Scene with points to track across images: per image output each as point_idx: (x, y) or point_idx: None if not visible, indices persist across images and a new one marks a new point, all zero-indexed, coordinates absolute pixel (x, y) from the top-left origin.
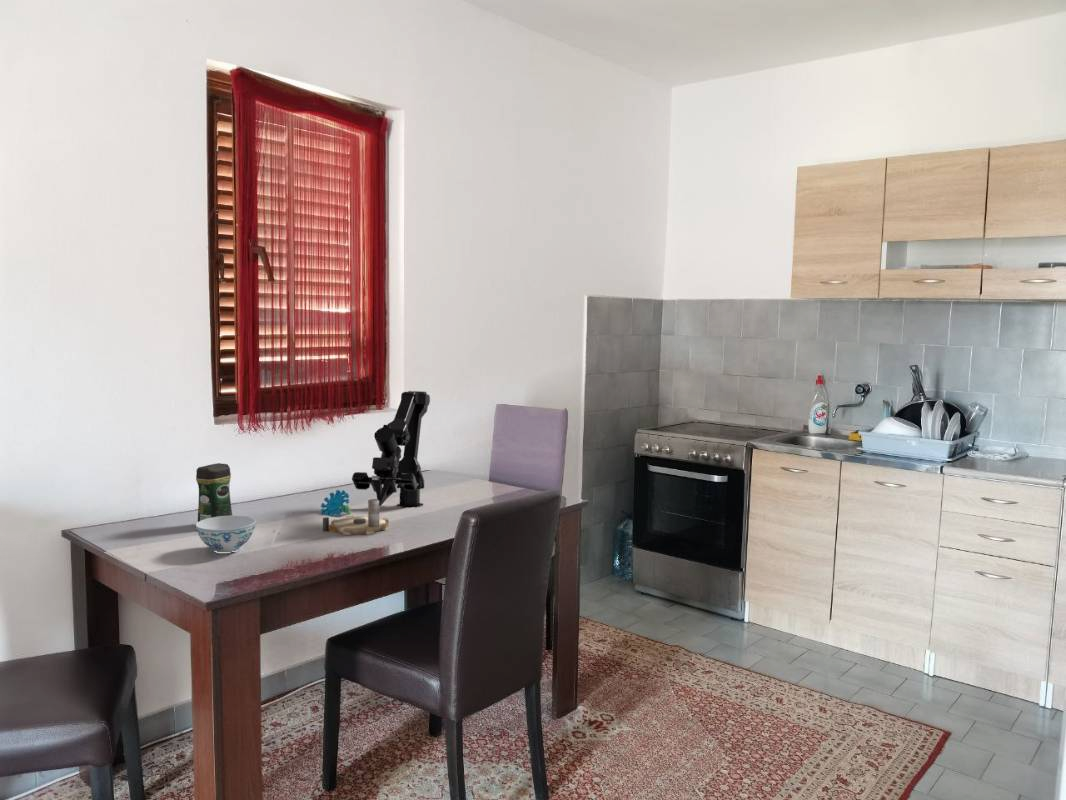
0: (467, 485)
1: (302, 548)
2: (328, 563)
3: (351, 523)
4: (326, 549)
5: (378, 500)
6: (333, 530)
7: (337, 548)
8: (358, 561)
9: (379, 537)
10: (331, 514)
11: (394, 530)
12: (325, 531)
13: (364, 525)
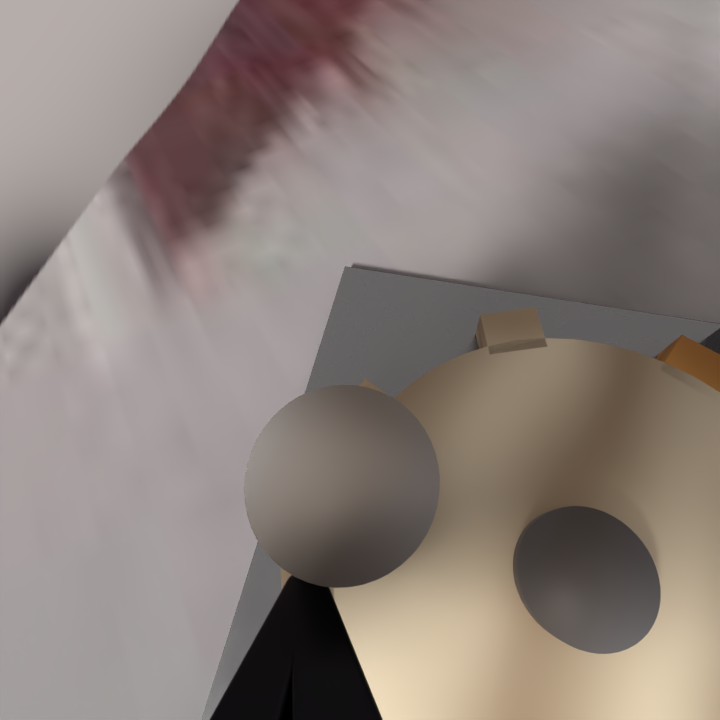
0: None
1: (558, 82)
2: (304, 11)
3: (617, 497)
4: (434, 117)
5: (260, 508)
6: (659, 356)
7: (393, 148)
8: (202, 67)
9: None
10: None
11: None
12: (712, 338)
13: (458, 481)
